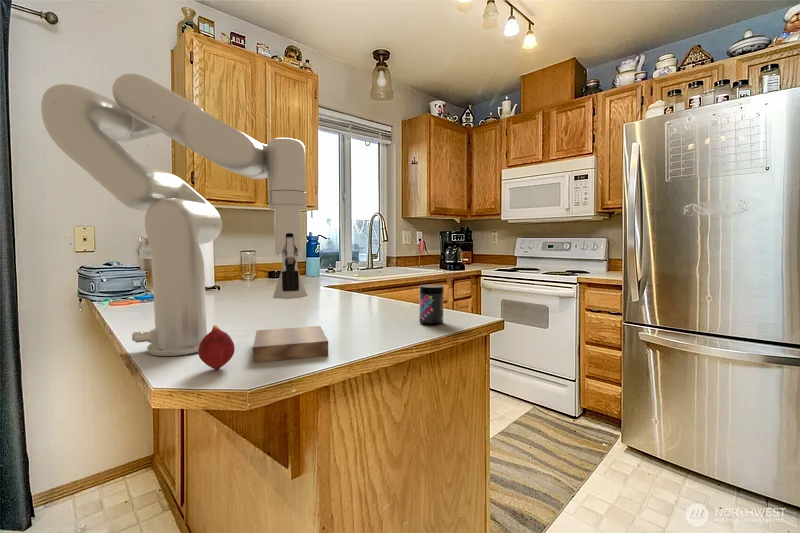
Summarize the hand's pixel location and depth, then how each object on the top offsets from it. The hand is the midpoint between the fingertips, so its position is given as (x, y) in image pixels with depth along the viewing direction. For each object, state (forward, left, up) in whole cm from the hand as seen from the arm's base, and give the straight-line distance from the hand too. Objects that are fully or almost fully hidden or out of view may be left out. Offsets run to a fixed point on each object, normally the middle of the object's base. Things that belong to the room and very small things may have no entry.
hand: (290, 288), depth 81 cm
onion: (-13, -9, -13) cm, 21 cm away
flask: (0, 0, -2) cm, 2 cm away
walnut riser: (0, 0, -13) cm, 13 cm away
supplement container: (+38, +14, -13) cm, 42 cm away
